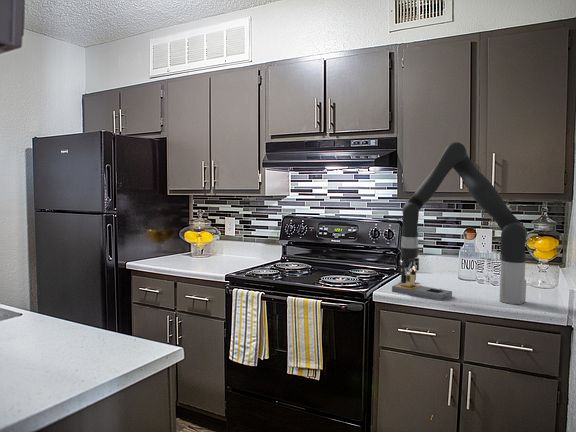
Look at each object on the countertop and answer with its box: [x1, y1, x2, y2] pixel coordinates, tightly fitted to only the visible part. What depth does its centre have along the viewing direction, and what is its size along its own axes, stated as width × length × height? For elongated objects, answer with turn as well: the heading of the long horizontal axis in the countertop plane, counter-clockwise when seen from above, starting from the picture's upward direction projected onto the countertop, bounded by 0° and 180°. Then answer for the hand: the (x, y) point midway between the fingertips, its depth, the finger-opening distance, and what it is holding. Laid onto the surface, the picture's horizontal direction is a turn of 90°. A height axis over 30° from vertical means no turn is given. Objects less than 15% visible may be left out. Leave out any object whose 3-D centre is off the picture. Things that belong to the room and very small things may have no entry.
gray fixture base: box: [391, 283, 453, 302], centre depth 209 cm, size 24×10×3 cm, turn 46°
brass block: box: [402, 272, 416, 288], centre depth 213 cm, size 4×4×8 cm
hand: (408, 281), depth 213 cm, fingers open, 8 cm apart
